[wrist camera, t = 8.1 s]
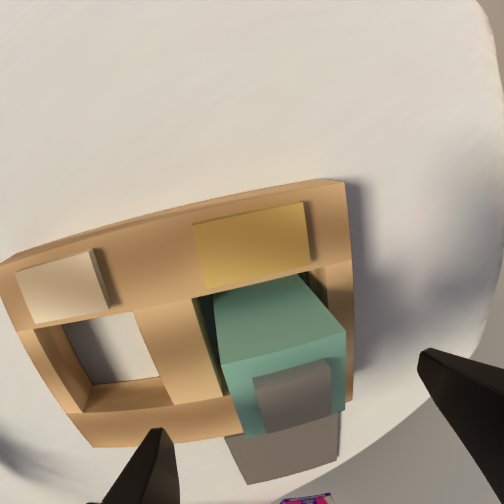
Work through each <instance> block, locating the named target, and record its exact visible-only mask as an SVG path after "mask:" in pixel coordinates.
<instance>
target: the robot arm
mask: <svg viewBox="0 0 504 504" xmlns="http://www.w3.org/2000/svg"><path fill="white" fill-rule="evenodd" d="M417 372H418V374H419V376H420V378H421V380H422V381H423V383H424V385H425V387H426V388H427V390H428V392H429V394H430V396H431V397H432V399H433V401H434V402H435V404H436V405H437V407H438V408H439V410H440V411H441V413H442V414H443V415H444V417H445V418H446V419H447V421H448V422H449V424H450V425H451V427H452V428H453V429H454V431H455V432H456V434H457V435H458V437H459V438H460V440H461V441H462V443H463V444H464V445H465V447H466V448H467V450H468V451H469V453H470V454H471V456H472V457H473V459H474V460H475V462H476V463H477V465H478V467H479V468H480V470H481V471H482V473H483V474H484V476H485V477H486V479H487V481H488V482H489V484H490V486H491V487H492V489H493V490H494V492H495V494H496V495H497V497H498V499H499V500H500V502H501V504H504V369H501V368H498V367H495V366H491V365H488V364H484V363H481V362H477V361H474V360H470V359H467V358H463V357H460V356H457V355H453V354H450V353H447V352H443V351H440V350H437V349H434V348H427V349H425V350H423V351H422V352H421V353H420V355H419V361H418V366H417ZM86 504H89V503H86ZM100 504H180V488H179V478H178V472H177V465H176V457H175V450H174V444H173V442H172V440H171V438H170V437H169V435H168V434H167V432H166V430H165V429H164V428H163V427H157V428H151V429H150V430H149V432H148V433H147V435H146V436H145V438H144V439H143V441H142V442H141V444H140V445H139V447H138V448H137V450H136V451H135V453H134V454H133V456H132V457H131V459H130V460H129V462H128V463H127V465H126V466H125V468H124V469H123V471H122V472H121V474H120V475H119V477H118V478H117V480H116V481H115V483H114V484H113V486H112V487H111V489H110V490H109V492H108V493H107V494H106V496H105V497H104V499H103V500H102V503H100Z"/></svg>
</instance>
